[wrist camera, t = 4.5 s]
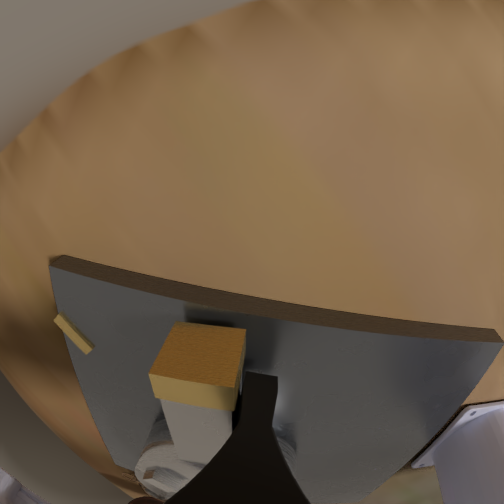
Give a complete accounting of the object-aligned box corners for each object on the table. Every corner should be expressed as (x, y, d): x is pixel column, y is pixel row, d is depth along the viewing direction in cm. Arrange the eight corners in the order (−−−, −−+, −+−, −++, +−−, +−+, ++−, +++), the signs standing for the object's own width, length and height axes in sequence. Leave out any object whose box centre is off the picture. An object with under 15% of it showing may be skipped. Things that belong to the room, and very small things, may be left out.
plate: (494, 329, 11) (505, 344, 10) (357, 491, 19) (358, 503, 18) (58, 253, 12) (41, 265, 11) (116, 453, 20) (111, 464, 19)
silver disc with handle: (286, 486, 16) (283, 530, 13) (164, 469, 17) (151, 509, 14) (335, 331, 10) (349, 415, 7) (105, 306, 11) (55, 366, 8)
